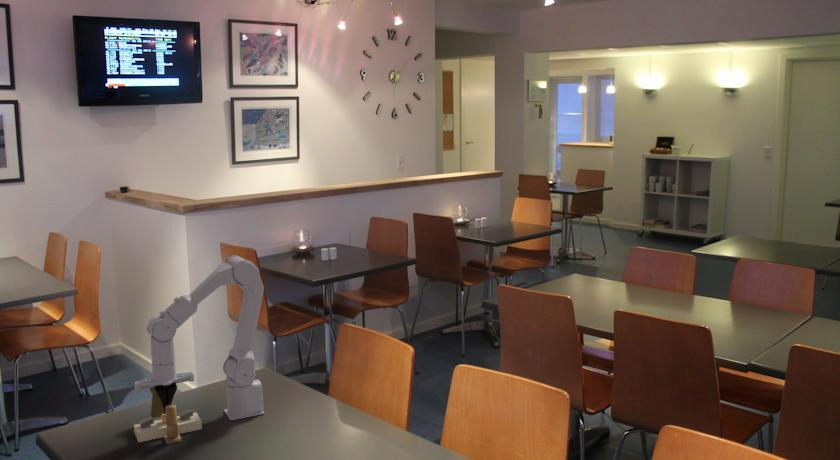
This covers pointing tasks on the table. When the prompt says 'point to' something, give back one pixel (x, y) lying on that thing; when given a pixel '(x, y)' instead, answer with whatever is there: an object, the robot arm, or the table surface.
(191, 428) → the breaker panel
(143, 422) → the rocker
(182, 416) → the rocker
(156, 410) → the cork
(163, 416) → the rocker
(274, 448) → the table surface
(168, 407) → the oak post
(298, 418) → the table surface
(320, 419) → the table surface
